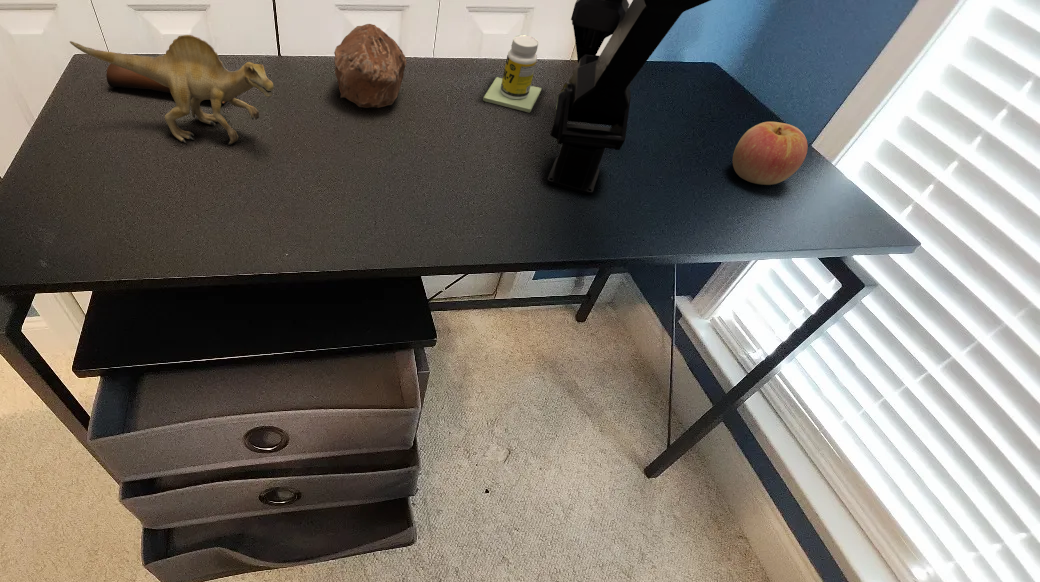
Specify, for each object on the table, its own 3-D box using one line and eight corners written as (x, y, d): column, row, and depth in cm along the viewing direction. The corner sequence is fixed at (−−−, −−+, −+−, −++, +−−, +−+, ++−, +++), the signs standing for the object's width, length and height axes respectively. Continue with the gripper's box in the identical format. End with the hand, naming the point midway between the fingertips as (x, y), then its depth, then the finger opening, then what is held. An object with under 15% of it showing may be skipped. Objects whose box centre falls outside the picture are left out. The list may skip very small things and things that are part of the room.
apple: (790, 199, 86) (825, 149, 80) (728, 189, 86) (757, 139, 80) (776, 166, 91) (808, 117, 85) (718, 157, 92) (745, 107, 86)
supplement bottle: (495, 87, 100) (505, 34, 93) (520, 85, 101) (532, 32, 94) (507, 101, 97) (518, 48, 91) (533, 99, 98) (546, 46, 92)
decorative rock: (340, 74, 100) (340, 9, 93) (406, 81, 100) (411, 18, 92) (327, 113, 92) (325, 46, 84) (399, 121, 92) (404, 55, 84)
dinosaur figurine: (278, 158, 84) (268, 61, 73) (98, 130, 85) (64, 31, 75) (293, 130, 88) (286, 35, 78) (123, 103, 90) (93, 7, 79)
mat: (529, 113, 96) (530, 109, 96) (482, 100, 98) (483, 97, 97) (540, 91, 101) (541, 88, 101) (495, 80, 103) (496, 76, 102)
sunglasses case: (239, 78, 96) (226, 51, 89) (230, 118, 95) (217, 93, 88) (131, 63, 97) (111, 34, 90) (121, 102, 96) (100, 77, 89)
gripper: (693, -39, 65) (638, 100, 77) (699, -82, 76) (651, 45, 88) (591, -59, 66) (553, 81, 78) (612, -97, 78) (576, 29, 90)
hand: (587, 58), depth 84 cm, fingers open, 9 cm apart
